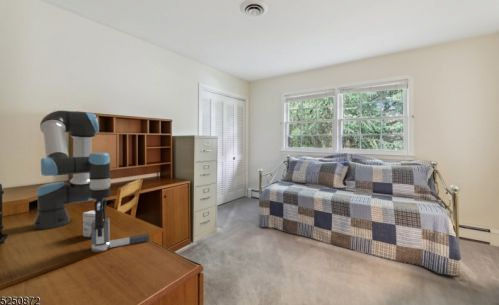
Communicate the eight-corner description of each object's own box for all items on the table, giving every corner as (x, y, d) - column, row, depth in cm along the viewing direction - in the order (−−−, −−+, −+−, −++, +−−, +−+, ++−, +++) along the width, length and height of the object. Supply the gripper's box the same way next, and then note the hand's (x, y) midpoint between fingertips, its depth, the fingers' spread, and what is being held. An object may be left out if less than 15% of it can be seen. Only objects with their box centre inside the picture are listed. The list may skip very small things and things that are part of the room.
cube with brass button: (94, 239, 99) (93, 218, 98) (109, 236, 101) (109, 216, 101) (91, 244, 93) (91, 223, 93) (108, 242, 96) (108, 221, 96)
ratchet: (90, 253, 93) (90, 238, 92) (93, 246, 99) (92, 232, 99) (149, 242, 103) (148, 228, 103) (148, 236, 109) (148, 223, 109)
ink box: (105, 234, 112) (104, 211, 112) (95, 238, 108) (95, 214, 107) (92, 232, 115) (91, 209, 114) (82, 236, 110) (82, 212, 109)
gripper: (93, 185, 103) (94, 234, 104) (85, 193, 86) (86, 251, 87) (112, 183, 107) (112, 231, 107) (108, 191, 90) (109, 247, 91)
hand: (101, 240), depth 97 cm, fingers closed on cube with brass button, 6 cm apart
